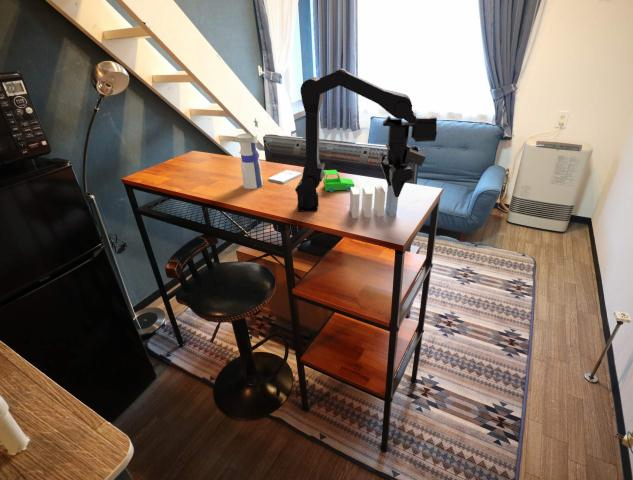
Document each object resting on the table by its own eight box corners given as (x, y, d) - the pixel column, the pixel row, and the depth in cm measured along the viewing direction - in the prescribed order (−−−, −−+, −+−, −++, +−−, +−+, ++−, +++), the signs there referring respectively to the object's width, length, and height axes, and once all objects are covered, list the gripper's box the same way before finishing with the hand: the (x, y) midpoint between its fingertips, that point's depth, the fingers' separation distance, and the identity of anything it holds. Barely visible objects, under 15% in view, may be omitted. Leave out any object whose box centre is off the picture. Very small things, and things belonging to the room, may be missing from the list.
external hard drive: (267, 181, 140) (286, 172, 149) (283, 185, 136) (302, 176, 145) (267, 178, 139) (286, 169, 148) (283, 181, 135) (301, 172, 144)
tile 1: (352, 217, 109) (352, 194, 105) (349, 209, 114) (350, 187, 110) (358, 217, 109) (359, 194, 105) (355, 209, 114) (356, 186, 110)
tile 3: (377, 216, 109) (379, 193, 105) (373, 208, 114) (375, 186, 110) (383, 216, 109) (385, 193, 105) (379, 208, 114) (381, 185, 110)
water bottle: (252, 180, 140) (244, 116, 128) (268, 184, 136) (261, 118, 123) (237, 186, 135) (227, 120, 122) (253, 190, 130) (244, 122, 118)
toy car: (325, 192, 127) (325, 175, 124) (322, 186, 133) (322, 169, 130) (354, 190, 128) (355, 173, 125) (351, 184, 134) (351, 167, 131)
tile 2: (364, 217, 109) (366, 193, 105) (361, 209, 114) (362, 186, 110) (371, 216, 109) (372, 193, 105) (367, 208, 114) (369, 186, 110)
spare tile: (390, 216, 109) (392, 192, 105) (385, 208, 114) (387, 185, 110) (396, 215, 109) (398, 192, 105) (391, 207, 114) (393, 185, 110)
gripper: (436, 149, 92) (428, 202, 100) (415, 132, 108) (410, 179, 116) (395, 150, 92) (390, 203, 100) (380, 134, 108) (377, 181, 116)
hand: (393, 191), depth 108 cm, fingers open, 9 cm apart
